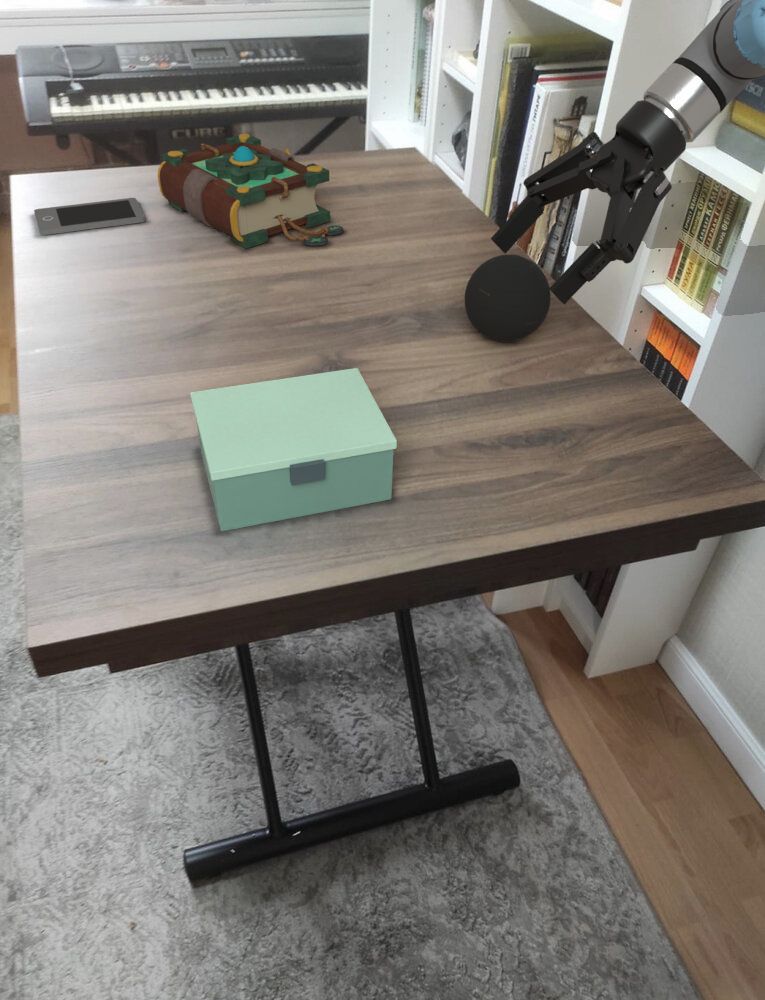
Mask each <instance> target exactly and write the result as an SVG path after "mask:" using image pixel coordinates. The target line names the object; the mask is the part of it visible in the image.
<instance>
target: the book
mask: <svg viewBox="0 0 765 1000" xmlns="http://www.w3.org/2000/svg"><path fill="white" fill-rule="evenodd" d="M225 141H226V143H224V144H220V145H217V146H211V145H210V144H206V143H200V147H201V149H200V150H196V151H192V152H189V150H187V149H186V148H182V149H181V148H180V149H177V150H170V151H167V152H164V153H161V162H160V165H159V166H158V168H157V170H158V171H157V182H158V188H159V191H160V192H161V196H163V197H164V199H166V200H167V201H168V202H167V203H168V205H169V206H171V207H172V208H174V209H176V210H178V211H180V212H182V213H183V212H185V211H186V212H187V213H188V214H189V215H190V216H191V217H192V218H194V219H196V220H197V221H199V222H200V223H202V224H204V225H206V226H208V227H211V228H215V229H218V230H220V231H221V232H223V233H224V234H226V235H228V236H230V241H231V242H233V243H235V244H237V245H238V246H240V247H242V248H243V249H249V248H253V247H255V246H259V245H262V244H264V243H268V242H269V236H271V235H274V234H278V233H280V232H283V234H284V236H285V237H286V238H288V239H289V241H299V242H301V241H302V240H303V244H304V245H306V246H311V247H312V246H314V247H316V246H325V245H327V244H328V242H329V238H328V237H326V236H336V235H341V234H342V233H344V227H343V226H341V225H329V226H325V225H323V226H321V228H320V230H317V231H315V230H314V231H312V230H307V229H305V228H303V227H301V226H302V225H304V226H305V227H308V228H313V227H316V226H319V225H322V224H325V223H328V222H330V221H331V211H330V210H329V209H327V208H324V207H322V206H320V205H319V204H317V203H316V201H315V199H316V198H315V193H316V190H317V189H316V188H317V186H318V185H321V184H325V183H327V182H330V170H329V169H327V168H324V167H323V166H321V165H318V164H316V163H314V162H312V163H309V164H306V165H304V164H302V163H300V162H298V161H296V160H295V157H294V156H293V155H291V153H290V150H289V149H288V148H286V149H285V150H284V151H283V150H280V149H277V148H275V147H272V148H270V149H269V148H267V147H265V146H263V145H262V139H260V138H258V137H255V136H254V135H251V134H249V133H240V134H239V135H235V136H230V137H227V138H225ZM289 229H294V230H297V231H299V232H301V233H299V234H296V236H293V235H291V234H290V233H289V231H288V230H289ZM302 233H303V234H305V235H303V234H302ZM307 235H309V237H308V236H307ZM319 235H321V236H319Z"/></svg>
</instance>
